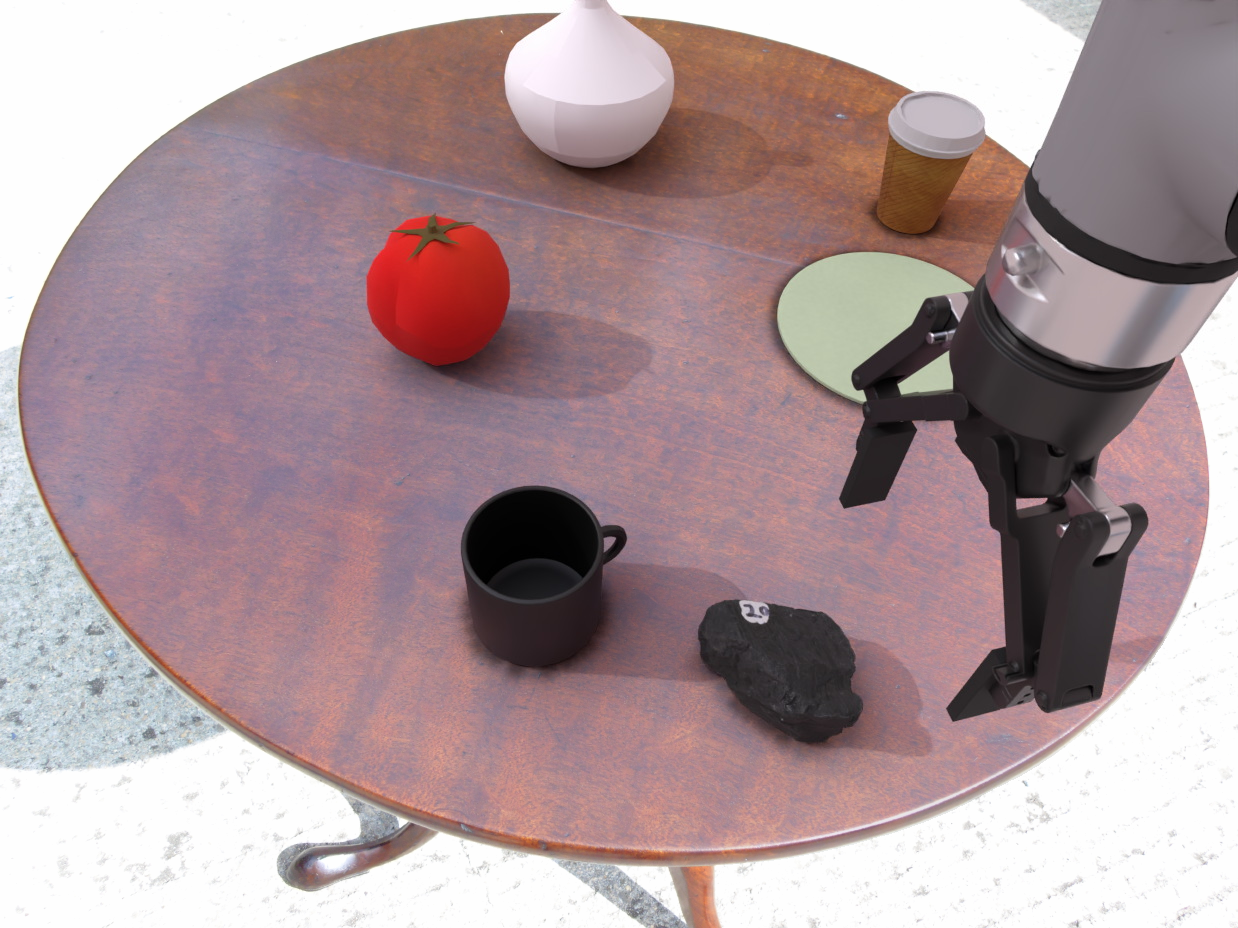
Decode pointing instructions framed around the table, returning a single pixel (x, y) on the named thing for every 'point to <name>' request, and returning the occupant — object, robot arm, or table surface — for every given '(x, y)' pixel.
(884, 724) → the table surface
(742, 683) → the rock
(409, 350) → the tomato
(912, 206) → the disposable coffee cup
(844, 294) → the mat
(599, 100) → the vase
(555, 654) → the mug
